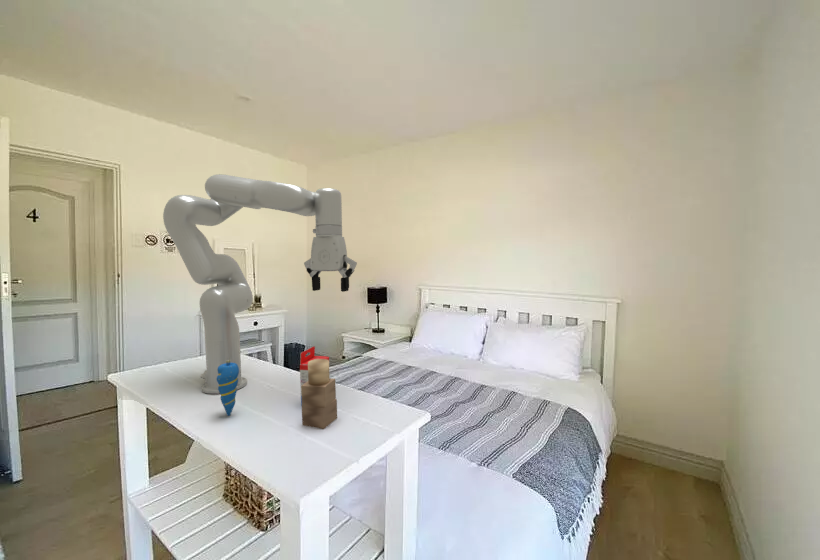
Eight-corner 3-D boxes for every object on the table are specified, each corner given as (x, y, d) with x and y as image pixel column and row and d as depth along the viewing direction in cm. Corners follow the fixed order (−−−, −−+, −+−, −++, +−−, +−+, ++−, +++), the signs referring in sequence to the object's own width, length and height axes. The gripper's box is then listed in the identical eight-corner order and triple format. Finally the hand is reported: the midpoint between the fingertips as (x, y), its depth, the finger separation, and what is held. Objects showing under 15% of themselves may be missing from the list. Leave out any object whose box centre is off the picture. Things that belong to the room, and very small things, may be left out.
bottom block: (302, 425, 86) (301, 405, 86) (316, 414, 92) (316, 395, 92) (323, 429, 84) (323, 408, 84) (337, 418, 90) (336, 398, 90)
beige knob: (304, 384, 86) (303, 363, 86) (316, 377, 91) (315, 358, 90) (322, 386, 84) (321, 365, 84) (333, 379, 89) (332, 359, 89)
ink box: (317, 408, 96) (315, 354, 95) (300, 406, 97) (298, 353, 96) (330, 395, 104) (329, 346, 103) (314, 394, 105) (313, 345, 104)
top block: (301, 406, 85) (301, 385, 85) (313, 396, 91) (313, 377, 91) (325, 408, 84) (324, 387, 84) (335, 398, 90) (335, 378, 90)
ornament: (219, 413, 93) (216, 356, 92) (241, 409, 95) (238, 354, 94) (217, 421, 89) (214, 361, 87) (240, 417, 91) (238, 359, 90)
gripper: (296, 232, 104) (298, 291, 105) (348, 230, 98) (349, 292, 99) (311, 233, 111) (313, 288, 112) (361, 232, 105) (362, 290, 106)
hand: (330, 290), depth 106 cm, fingers open, 9 cm apart
